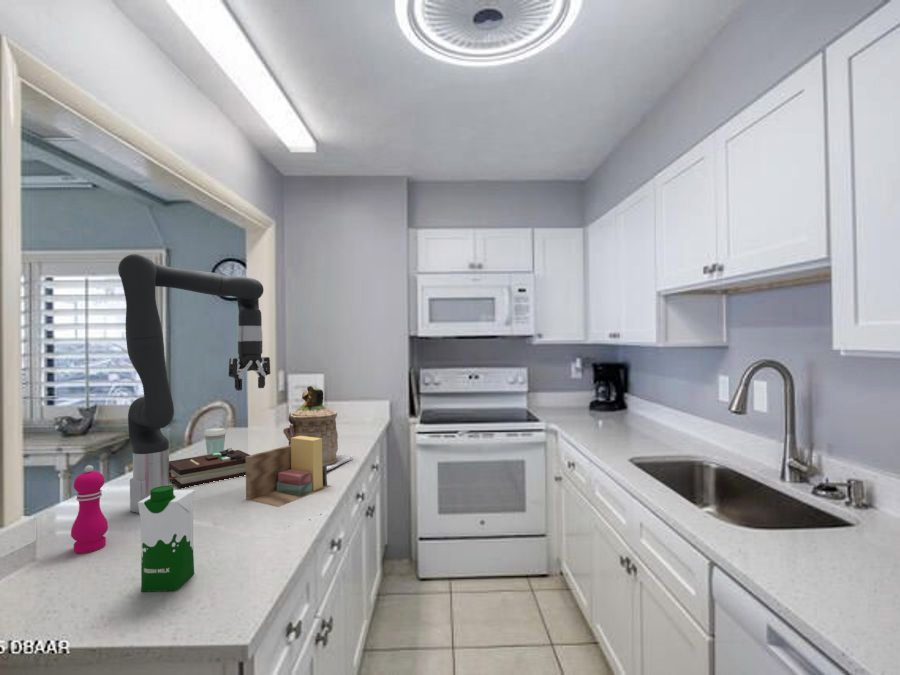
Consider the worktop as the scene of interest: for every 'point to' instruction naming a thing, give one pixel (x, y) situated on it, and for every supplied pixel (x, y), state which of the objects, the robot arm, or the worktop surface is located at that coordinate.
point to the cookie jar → (317, 426)
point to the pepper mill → (89, 513)
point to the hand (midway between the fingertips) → (250, 389)
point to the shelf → (277, 478)
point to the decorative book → (207, 468)
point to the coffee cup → (215, 440)
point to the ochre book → (308, 458)
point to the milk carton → (166, 539)
